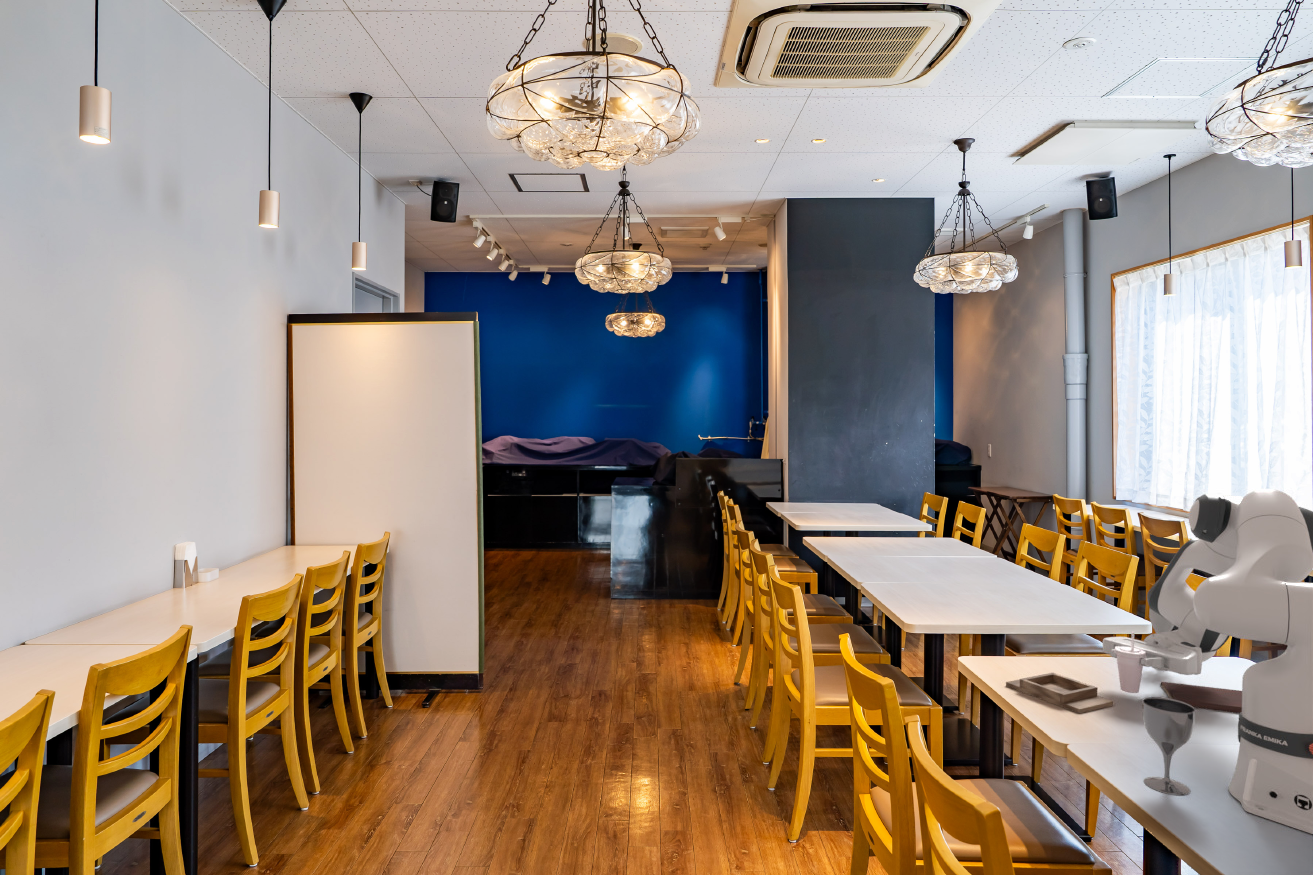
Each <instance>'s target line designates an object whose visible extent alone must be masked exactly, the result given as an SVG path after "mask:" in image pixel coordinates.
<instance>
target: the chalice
mask: <svg viewBox="0 0 1313 875" xmlns="http://www.w3.org/2000/svg"><path fill="white" fill-rule="evenodd" d="M1148 614H1149V615H1148V618H1149V621H1150V624H1151V626H1152V627H1153V630H1154V632H1155V634H1156V633H1161V632H1171V631H1173V629H1174V627H1175V625H1174V624H1173V623H1171V622H1170V621H1168V620H1167V619H1166V618H1164V617H1162V616H1161V615H1159V614H1157V613H1156V612H1154V611H1153V610H1151V609H1150V608H1149V613H1148ZM1151 668H1154V667H1152V666H1151ZM1154 669H1155V668H1154Z"/></svg>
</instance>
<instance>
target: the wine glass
mask: <svg viewBox="0 0 1313 875" xmlns="http://www.w3.org/2000/svg"><path fill="white" fill-rule="evenodd" d="M1141 708H1142V719H1143V723H1144V724H1143V725H1144V727H1145V730H1146V732H1147V734H1148V736H1149V737H1150V738H1151V740H1152V741H1153V742H1154V743H1155V744H1156V745H1157V747H1158V748H1159V749H1160V752H1161V754H1162V757H1163V764H1164V765H1163V766H1164V772H1163V774H1164V776H1162V777H1161V776H1148V777H1145V778H1144V779H1143V783H1144V784H1145V785H1146V786H1147V787H1148V788H1151V789H1152V790H1154V791H1157V792H1159V793H1163V794H1166V795H1171V796H1187V795H1190V794H1191V789H1190V787H1188V786H1187V785H1185V784H1184V783H1182V782H1180V781H1177V780H1175V779H1172V778H1170V774H1171V773H1170V771H1171V762H1172V757H1173V755H1174V754H1175V753H1176V751H1177V750H1179V749H1180V748H1182V747H1183V746H1185V745H1186V744H1188V742H1189V741H1190V739H1191V738H1192V735H1193V732H1194V731H1193V730H1194V727H1195V719H1196V715H1195V714H1196V708H1194V707H1193V706H1191V705H1189V704H1187V703H1185V702H1182V701H1178V700H1175V699H1171V698H1170V697H1169V698H1168V697H1162V696H1148V697H1143V699H1142V707H1141Z"/></svg>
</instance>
